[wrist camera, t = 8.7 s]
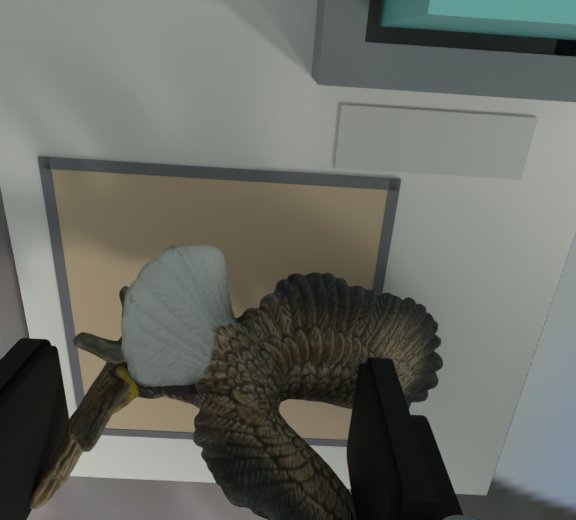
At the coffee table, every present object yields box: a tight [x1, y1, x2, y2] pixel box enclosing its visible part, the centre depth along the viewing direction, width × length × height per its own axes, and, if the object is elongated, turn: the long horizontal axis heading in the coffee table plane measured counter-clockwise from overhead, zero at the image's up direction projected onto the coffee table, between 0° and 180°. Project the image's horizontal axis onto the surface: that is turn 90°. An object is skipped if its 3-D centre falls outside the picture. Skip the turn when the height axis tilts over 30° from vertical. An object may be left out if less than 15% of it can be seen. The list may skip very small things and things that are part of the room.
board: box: [0, 0, 576, 495], centre depth 12 cm, size 16×22×4 cm
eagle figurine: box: [30, 245, 443, 520], centre depth 11 cm, size 8×7×9 cm
